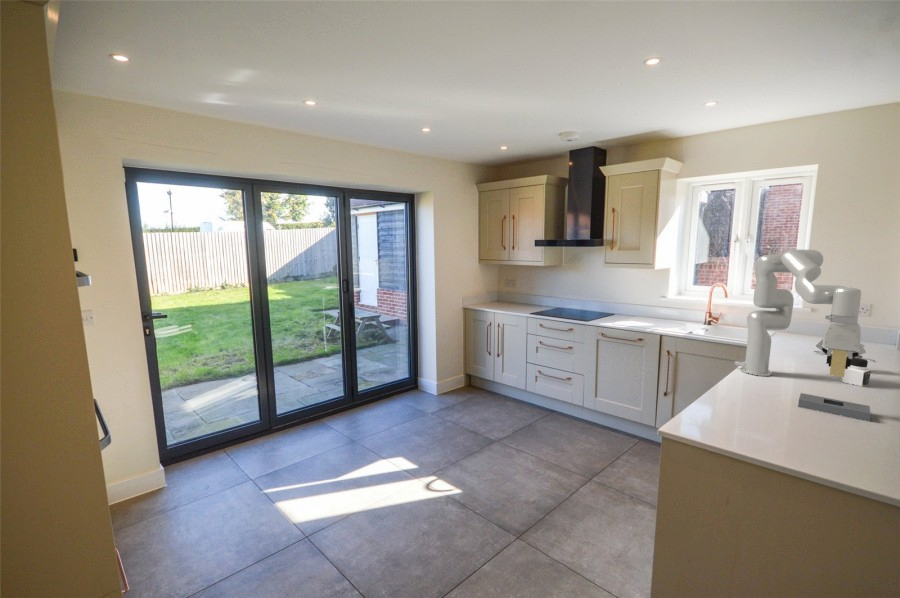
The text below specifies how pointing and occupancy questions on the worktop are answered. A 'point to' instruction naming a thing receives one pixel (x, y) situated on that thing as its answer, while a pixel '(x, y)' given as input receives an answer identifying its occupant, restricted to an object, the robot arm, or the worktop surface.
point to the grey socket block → (835, 406)
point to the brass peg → (838, 363)
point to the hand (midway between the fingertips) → (837, 366)
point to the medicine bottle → (857, 372)
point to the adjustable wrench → (831, 353)
